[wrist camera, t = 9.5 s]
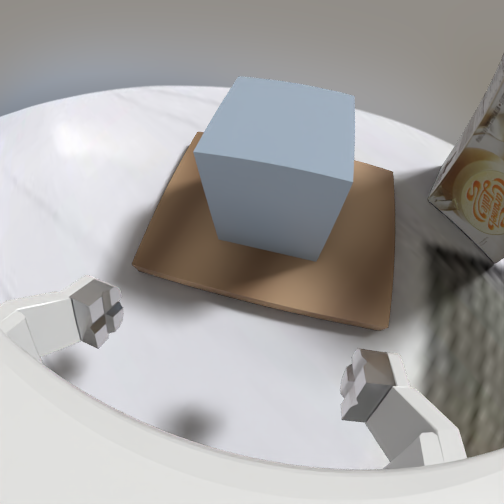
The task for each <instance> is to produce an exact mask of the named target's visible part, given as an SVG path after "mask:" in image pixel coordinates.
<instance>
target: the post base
mask: <svg viewBox="0 0 504 504" xmlns="http://www.w3.org/2000/svg"><path fill="white" fill-rule="evenodd" d="M203 133H204V132H197V134H196V135H195V137H194V139H193V140H192V142H191V144H190V146H189V147H188V149H187V151H186V153H185V154H184V156H183V158H182V160H181V162H180V163H179V165H178V167H177V169H176V171H175V173H174V175H173V176H172V178H171V180H170V182H169V184H168V186H167V188H166V190H165V192H164V194H163V196H162V198H161V200H160V202H159V204H158V206H157V208H156V210H155V212H154V215H153V217H152V219H151V221H150V223H149V225H148V227H147V230H146V232H145V234H144V236H143V239H142V241H141V243H140V245H139V248H138V250H137V252H136V255H135V257H134V260H133V262H132V265H133V266H134V267H135V268H136V269H137V270H138V271H141V272H144V273H147V274H150V275H154V276H157V277H160V278H163V279H167V280H170V281H174V282H177V283H180V284H184V285H187V286H191V287H194V288H198V289H202V290H205V291H209V292H212V293H216V294H220V295H224V296H227V297H231V298H235V299H239V300H243V301H247V302H251V303H255V304H259V305H263V306H267V307H271V308H275V309H279V310H283V311H288V312H292V313H296V314H301V315H305V316H310V317H314V318H319V319H324V320H328V321H333V322H338V323H343V324H348V325H353V326H358V327H363V328H368V329H374V330H379V331H381V330H383V329H386V328H388V325H389V317H390V308H391V299H392V288H393V274H394V254H395V199H394V179H393V172H392V171H389V170H386V169H383V168H380V167H376V166H373V165H369V164H366V163H362V162H359V161H355V160H354V174H353V184H352V186H351V188H350V191H349V193H348V195H347V197H346V200H345V202H344V204H343V206H342V209H341V211H340V213H339V215H338V217H337V220H336V222H335V224H334V226H333V228H332V230H331V232H330V235H329V237H328V239H327V241H326V243H325V245H324V247H323V249H322V251H321V253H320V255H319V257H318V259H317V262H315V261H310V260H306V259H302V258H297V257H293V256H289V255H284V254H280V253H276V252H271V251H267V250H263V249H258V248H254V247H250V246H245V245H241V244H237V243H232V242H228V241H223V240H219V239H218V236H217V233H216V230H215V226H214V223H213V220H212V216H211V213H210V209H209V206H208V202H207V199H206V196H205V192H204V189H203V185H202V182H201V178H200V174H199V171H198V167H197V164H196V160H195V156H194V153H193V151H194V149H195V148H196V146H197V144H198V142H199V140H200V139H201V137H202V135H203Z"/></svg>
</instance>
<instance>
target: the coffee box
mask: <svg viewBox="0 0 504 504" xmlns="http://www.w3.org/2000/svg"><path fill="white" fill-rule="evenodd" d="M428 200H429V202H431V203H432V204H433V205H434V206H435V207H436V208H438V209H439V210H440V211H441V212H442V213H444V214H445V215H446V216H447V217H448V218H449V219H450V220H452V221H453V222H454V223H455V224H456V225H457V226H458V227H459V228H460V229H461V230H462V231H463V232H464V233H465V234H467V235H468V236H469V237H470V238H471V239H472V240H473V241H474V242H475V243H476V244H477V245H478V246H479V247H480V248H481V249H482V250H483V251H484V252H485V254H486V255H487V256H488V257H489V258H490V259H491V260H492V261H493V262H494V263H497V262H499V261H500V260H501V259H503V258H504V54H503V56H502V59H501V61H500V63H499V65H498V68H497V70H496V72H495V74H494V76H493V79H492V81H491V83H490V85H489V87H488V89H487V91H486V93H485V95H484V97H483V98H482V100H481V102H480V104H479V106H478V108H477V109H476V111H475V113H474V115H473V117H472V118H471V120H470V122H469V123H468V125H467V127H466V128H465V130H464V132H463V133H462V135H461V137H460V139H459V140H458V142H457V143H456V145H455V147H454V148H453V150H452V151H451V153H450V154H449V156H448V157H447V159H446V160H445V162H444V163H443V165H442V167H441V169H440V172H439V174H438V176H437V179H436V181H435V183H434V186H433V188H432V190H431V192H430V195H429V197H428Z"/></svg>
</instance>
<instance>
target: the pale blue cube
mask: <svg viewBox="0 0 504 504" xmlns="http://www.w3.org/2000/svg"><path fill="white" fill-rule="evenodd" d="M354 104H355V103H354V96H352V95H348V94H344V93H340V92H336V91H332V90H327V89H323V88H318V87H313V86H308V85H302V84H296V83H291V82H284V81H277V80H269V79H261V78H251V77H240V76H239V77H238V78H237V80H236V81H235V83H234V84H233V86H232V87H231V89H230V90H229V92H228V94H227V95H226V97H225V98H224V100H223V101H222V103H221V105H220V106H219V108H218V110H217V111H216V113H215V115H214V116H213V118H212V120H211V121H210V123H209V125H208V126H207V128H206V130H205V132H204V133H203V135H202V137H201V139H200V140H199V142H198V144H197V146H196V148H195V149H194V151H193V153H194V156H195V160H196V164H197V167H198V171H199V174H200V178H201V182H202V185H203V189H204V192H205V196H206V199H207V202H208V206H209V209H210V213H211V216H212V220H213V223H214V226H215V230H216V233H217V236H218V239H219V240H223V241H228V242H232V243H237V244H241V245H245V246H250V247H254V248H258V249H263V250H267V251H271V252H276V253H280V254H284V255H289V256H293V257H297V258H302V259H306V260H310V261H315V262H317V259H318V257H319V255H320V253H321V251H322V249H323V247H324V245H325V243H326V241H327V239H328V237H329V235H330V232H331V230H332V228H333V226H334V224H335V222H336V220H337V217H338V215H339V213H340V211H341V209H342V206H343V204H344V202H345V200H346V197H347V195H348V193H349V191H350V188H351V186H352V184H353V174H354V146H355V106H354Z"/></svg>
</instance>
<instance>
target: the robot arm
mask: <svg viewBox="0 0 504 504" xmlns="http://www.w3.org/2000/svg"><path fill="white" fill-rule="evenodd" d="M121 298H122V295H121V289H120V288H119V287H118V286H115V285H113V284H110V283H107V282H105V281H102V280H100V279H97V278H95V277H92V276H90V275H85V276H83V277H82V278H80V279H78V280H77V281H75V282H74V283H72V284H71V285H69V286H68V287H66V288H65V289H63V290H62V291H60V292H57V291H55V292H50V293H45V294H39V295H34V296H29V297H24V298H18V299H13V300H8V301H5V302H4V303H2V304H1V305H0V504H504V448H502V449H499V450H495V451H492V452H489V453H485V454H482V455H478V456H474V457H470V458H467V457H466V453H465V450H464V446H463V443H462V439H461V436H460V433H459V429H458V428H457V427H456V426H455V425H454V424H453V423H452V422H451V421H450V420H448V419H447V418H446V417H445V416H444V415H443V414H442V413H441V412H440V411H439V410H438V409H437V408H436V407H435V406H434V405H433V404H432V403H431V402H429V401H428V400H427V399H426V398H425V397H424V396H423V395H422V394H421V393H420V392H419V391H418V390H417V389H416V388H412V387H411V386H410V383H409V379H408V376H407V373H406V370H405V367H404V364H403V361H402V358H401V356H400V354H398V353H391V352H379V351H372V350H365V349H358V348H357V349H356V350H355V352H354V353H353V355H352V357H351V358H352V364H351V365H349V366H348V367H346V369H345V371H344V374H343V376H342V380H341V386H340V394H341V395H342V396H343V397H344V400H343V402H342V403H341V418H342V420H347V421H356V422H366V423H365V424H366V426H367V427H368V429H369V430H370V432H371V433H372V435H373V436H374V438H375V439H376V441H377V443H378V444H379V446H380V447H381V449H382V450H383V452H384V453H385V455H386V456H387V458H388V459H389V461H390V463H389V464H388V465H387V466H385V467H384V468H383V469H374V470H354V469H331V468H318V467H308V466H299V465H292V464H285V463H279V462H273V461H267V460H262V459H257V458H252V457H248V456H244V455H239V454H235V453H231V452H227V451H224V450H220V449H216V448H213V447H210V446H206V445H203V444H200V443H197V442H194V441H191V440H188V439H185V438H182V437H179V436H177V435H174V434H171V433H169V432H166V431H164V430H161V429H159V428H156V427H154V426H151V425H149V424H147V423H144V422H142V421H140V420H138V419H135V418H133V417H131V416H129V415H127V414H125V413H123V412H121V411H119V410H117V409H115V408H113V407H111V406H109V405H107V404H105V403H103V402H102V401H100V400H98V399H96V398H94V397H93V396H91V395H89V394H88V393H86V392H84V391H82V390H81V389H79V388H78V387H76V386H74V385H73V384H71V383H70V382H68V381H66V380H65V379H63V378H62V377H60V376H59V375H57V374H56V373H55V372H53V371H52V370H50V369H49V368H47V367H46V366H45V365H43V363H42V360H41V357H43V356H46V355H49V354H51V353H54V352H56V351H59V350H61V349H64V348H66V347H69V346H71V345H74V344H76V343H79V342H81V341H83V342H85V343H87V344H89V345H91V346H93V347H95V348H97V349H99V348H100V347H101V345H102V344H103V343H104V342H105V341H106V340H107V339H108V337H109V333H112V332H115V331H116V330H117V329H118V328H119V327H120V325H121V323H122V320H123V307H122V306H121V304H120V302H119V301H120V300H121Z"/></svg>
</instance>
